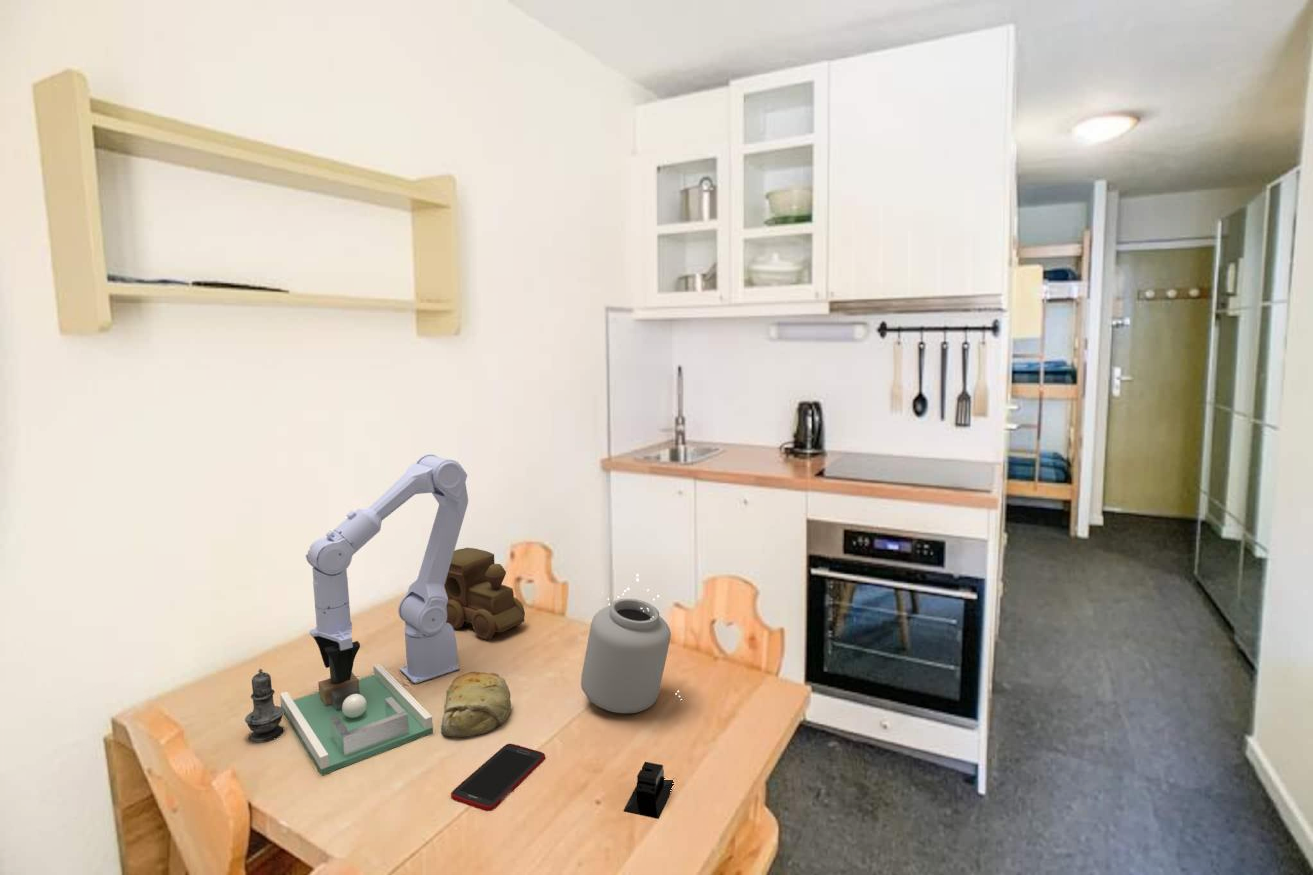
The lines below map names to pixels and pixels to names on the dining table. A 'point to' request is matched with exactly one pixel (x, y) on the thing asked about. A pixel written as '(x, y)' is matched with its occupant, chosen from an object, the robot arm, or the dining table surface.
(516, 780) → the cell phone
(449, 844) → the dining table surface
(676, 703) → the dining table surface
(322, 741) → the pitch
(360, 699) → the ball
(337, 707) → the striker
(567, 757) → the dining table surface
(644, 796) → the black stepped block
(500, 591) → the wooden toy train
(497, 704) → the pastry
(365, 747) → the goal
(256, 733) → the salt shaker
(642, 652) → the jar
